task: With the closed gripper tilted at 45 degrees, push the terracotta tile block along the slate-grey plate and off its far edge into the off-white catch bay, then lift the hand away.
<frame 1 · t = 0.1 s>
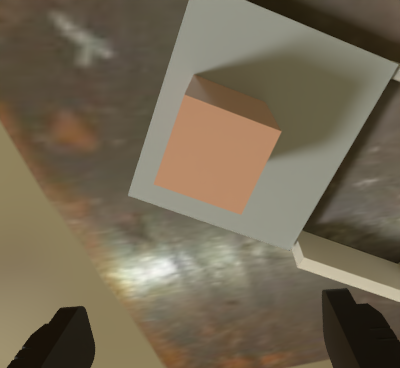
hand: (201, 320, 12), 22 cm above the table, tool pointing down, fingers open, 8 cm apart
far plate: (247, 126, 32), on the table
catch bay: (394, 181, 33), on the table
tile block: (215, 123, 29), point 3 cm above the table, touching far plate
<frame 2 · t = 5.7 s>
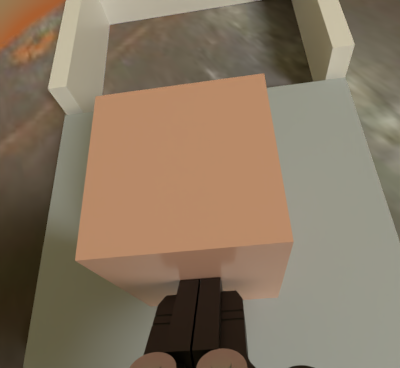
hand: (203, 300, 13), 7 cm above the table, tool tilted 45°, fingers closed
far plate: (212, 232, 21), on the table
catch bay: (200, 55, 28), on the table
tile block: (209, 240, 18), point 3 cm above the table, touching gripper
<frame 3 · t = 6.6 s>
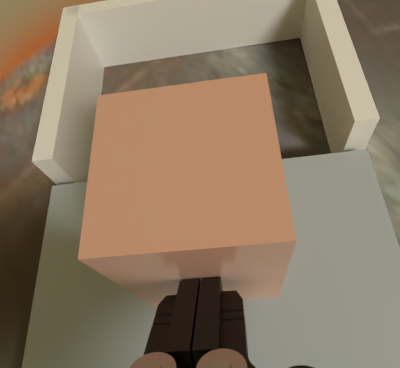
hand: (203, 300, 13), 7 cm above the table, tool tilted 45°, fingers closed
far plate: (218, 325, 19), on the table
catch bay: (203, 106, 26), on the table
tile block: (210, 240, 18), point 3 cm above the table, touching far plate
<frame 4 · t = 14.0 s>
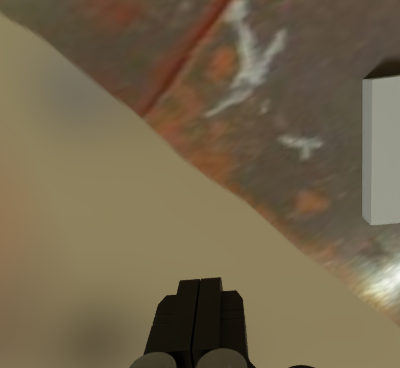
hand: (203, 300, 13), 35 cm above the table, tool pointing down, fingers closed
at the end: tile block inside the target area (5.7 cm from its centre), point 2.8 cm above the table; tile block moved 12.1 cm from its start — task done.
